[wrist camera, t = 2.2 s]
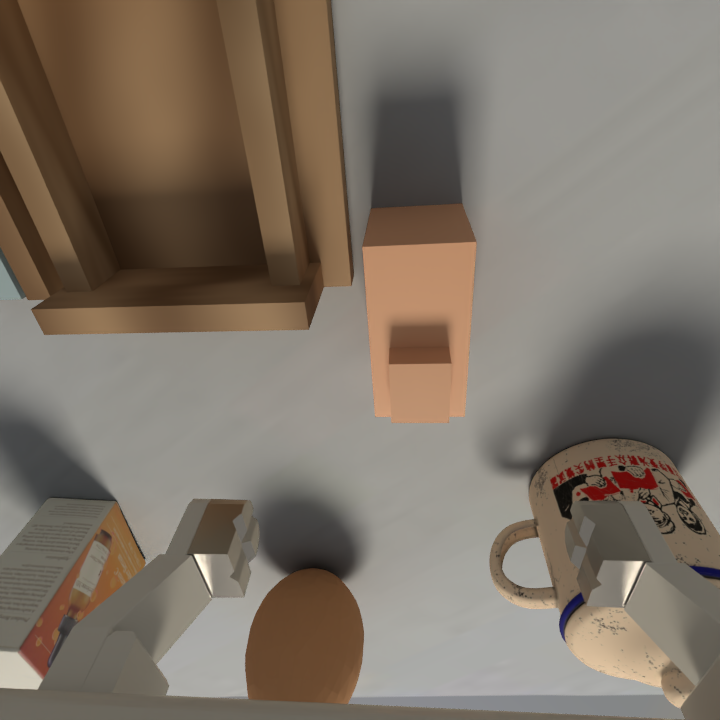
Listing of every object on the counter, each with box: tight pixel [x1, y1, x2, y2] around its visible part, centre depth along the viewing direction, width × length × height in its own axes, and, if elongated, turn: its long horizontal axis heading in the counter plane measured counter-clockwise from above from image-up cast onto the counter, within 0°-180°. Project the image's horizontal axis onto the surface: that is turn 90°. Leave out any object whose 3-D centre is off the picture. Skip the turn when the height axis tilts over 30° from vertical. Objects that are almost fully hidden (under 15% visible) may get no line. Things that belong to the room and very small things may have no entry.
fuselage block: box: [362, 204, 476, 423], centre depth 20 cm, size 4×8×6 cm, turn 4°
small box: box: [0, 498, 146, 690], centre depth 32 cm, size 8×6×10 cm
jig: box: [0, 0, 354, 335], centre depth 17 cm, size 20×13×5 cm, turn 94°
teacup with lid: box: [490, 439, 720, 708], centre depth 24 cm, size 12×9×12 cm
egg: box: [245, 568, 364, 704], centre depth 32 cm, size 8×8×11 cm
